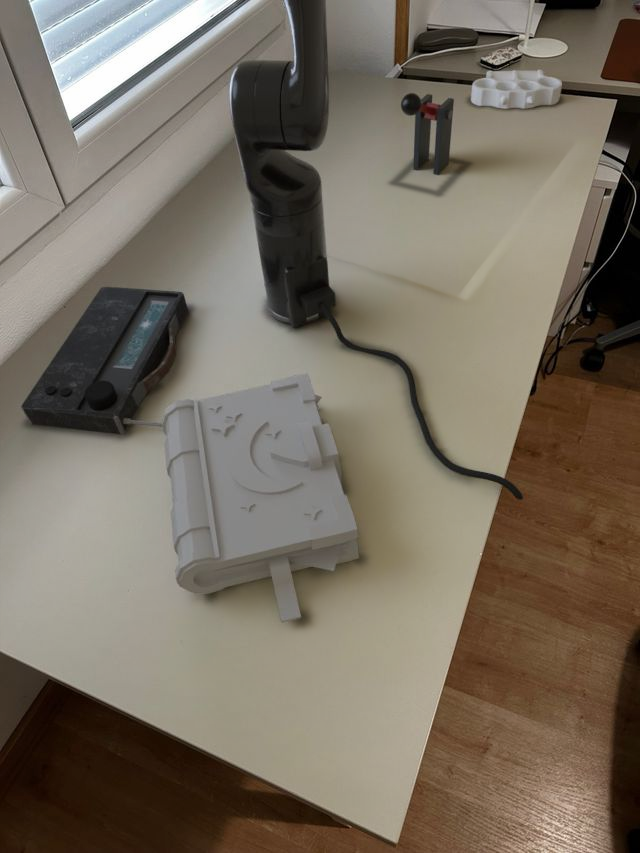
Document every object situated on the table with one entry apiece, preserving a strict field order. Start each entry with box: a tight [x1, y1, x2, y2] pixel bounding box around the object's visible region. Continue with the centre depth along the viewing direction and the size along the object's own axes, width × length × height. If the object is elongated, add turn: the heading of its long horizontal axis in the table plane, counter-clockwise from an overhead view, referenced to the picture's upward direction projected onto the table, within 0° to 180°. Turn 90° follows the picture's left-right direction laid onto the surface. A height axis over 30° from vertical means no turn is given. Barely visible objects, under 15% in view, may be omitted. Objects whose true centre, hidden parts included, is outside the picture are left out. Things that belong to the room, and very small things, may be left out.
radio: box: [20, 286, 189, 435], centre depth 88 cm, size 25×4×20 cm
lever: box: [400, 92, 441, 122], centre depth 106 cm, size 13×3×3 cm, turn 147°
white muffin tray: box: [470, 68, 563, 110], centre depth 136 cm, size 3×18×15 cm
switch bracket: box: [412, 93, 455, 176], centre depth 114 cm, size 12×9×13 cm
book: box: [161, 372, 360, 623], centre depth 69 cm, size 19×28×8 cm
